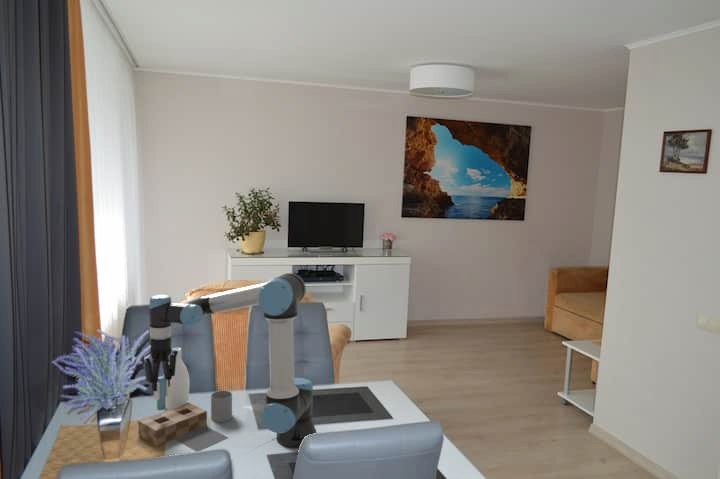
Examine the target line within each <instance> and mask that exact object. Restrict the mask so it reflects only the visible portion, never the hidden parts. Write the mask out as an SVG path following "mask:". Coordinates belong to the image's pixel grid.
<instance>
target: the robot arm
mask: <svg viewBox="0 0 720 479" xmlns="http://www.w3.org/2000/svg"><path fill="white" fill-rule="evenodd" d="M306 288H307V287H306V283H305V282H304V279H302V277H301V276H300V275H298V274H295V273H291V272H289V273H284V274H280V275H278V276H276V277H273V278H270V279H269V280H267V281H266V282H262V283H258V284H253V285H248V286H243V287H240V288H234V289H229V290H225V291H221V292H215V293H211V294H204V295H200V296H199V297H196V298H194V299H191V300H188V301H186V302H173V301H172V297H171V296H170V295H167V294H156V295H152V296H151V297H150V298H149V306H148V307H149V308H148V310H149V314H148V315H149V337H150V338H149V346H150V345H151V348H150V347H149V348H150V350H149V354H148V355H147V356H142V360H143V362H144V368H145V375H146V376H145V377H146V378H145V379H146V382H148V383H151V390H152V391H153V398H154V399H156V401H157V400H159V399H160V383H159V382H158V377H159V373H160V366H161V363H162V370H163V375H164V377H165V396H166V397H168V387H170V380H171V379H172V376H174V375H175V366H176V356H177V353H178V351H177V350H174V349H172V348H173V347H172V337H171V336H172V324H178V325H185V326H197V325H199V324H200V322H201V321H202V318H203V317H205V316H209V315H215V314H217V313H219V314H220V313H223V312H228V311H233V310H238V309H244V308H249V307H253V306H259V308H260V309H261V310H262V311H263V318H264V319H265V320H266V321H267V322H268V351H269V352H268V353H269V354H268V357H269V380H270V381H269V388H268V389H266V392H265V399H266V400H265V402H266V403H265V405H264V407H263V409H262V411H261V421H262V423H263V425H264V426H265V428H267V429H268V430H269V431H271V432H272V433H276V441H277V443H278V444H279V445H281V446H284V447H287V448H295V449H297V448H300V447H299V446H300V444H301V442H302V440H303V439H304V437H305V436H307V435H309V434H313V433H316V434H317V429H316V427H315V424H314V423H315V422H314V421H313V402H314V400H313V399H314V398H313V395H314V392H313V391H314V388H313V382H312V381H311V380H310V379H306V378H304V377H295V376H296V375H295V348H294V347H295V344H294V342H295V340H294V334H295V332H294V320H295V319H296V318H297V317H298V313H299V312H298V303H300V302H302V300H303V298H304V297H305V295H306Z"/></svg>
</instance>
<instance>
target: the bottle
mask: <svg viewBox="0 0 720 479" xmlns="http://www.w3.org/2000/svg"><path fill="white" fill-rule="evenodd" d="M171 348H172V349H174V350H177V351H178V353H177V356H176V366H175V375H174V376H172V379H171V380H170V387H168V397H166V396H165V409H166V411H167V410H170V409H172V408H175V407H178V406H181V405H183V404H186V403H189V396H190V395H189V394H190V384H191V382H190V381H191V380H190V374H189V372H188V367H187V366H186V365H185V363H184V361H183V360H182V348H181V347H171ZM162 377H164V374H163V375H162Z"/></svg>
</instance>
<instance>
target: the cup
mask: <svg viewBox="0 0 720 479" xmlns="http://www.w3.org/2000/svg"><path fill="white" fill-rule="evenodd" d="M210 411H211V412H210V415H211V416H210V420H212V422H216V423H224V422H229V421H230V420H232V419H233V392H231V391H229V390H217V391H214V392H212V393H211V395H210Z"/></svg>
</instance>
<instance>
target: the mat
mask: <svg viewBox="0 0 720 479" xmlns="http://www.w3.org/2000/svg"><path fill="white" fill-rule="evenodd" d="M227 439H229V437H228V436H226V435H224V434H223V433H220V432H219V431H217V430H215V429H213V428H210V427H209V426H203V427H200V428H198V429H196V430H193V431H191V432H188V433H186V434H183V435H181V436H179V437H176V438H174V440H175V441H177V442H178V443H180V444H182V445H184V446H186V447H187V448H189V449H190V450H191V449H192V450H193V451H194V452H197V451H199V452H201V451H203V450H205V449H207V448H209V447H212V446H214V445H216V444H219V443H221V442H223V441H225V440H227Z"/></svg>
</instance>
